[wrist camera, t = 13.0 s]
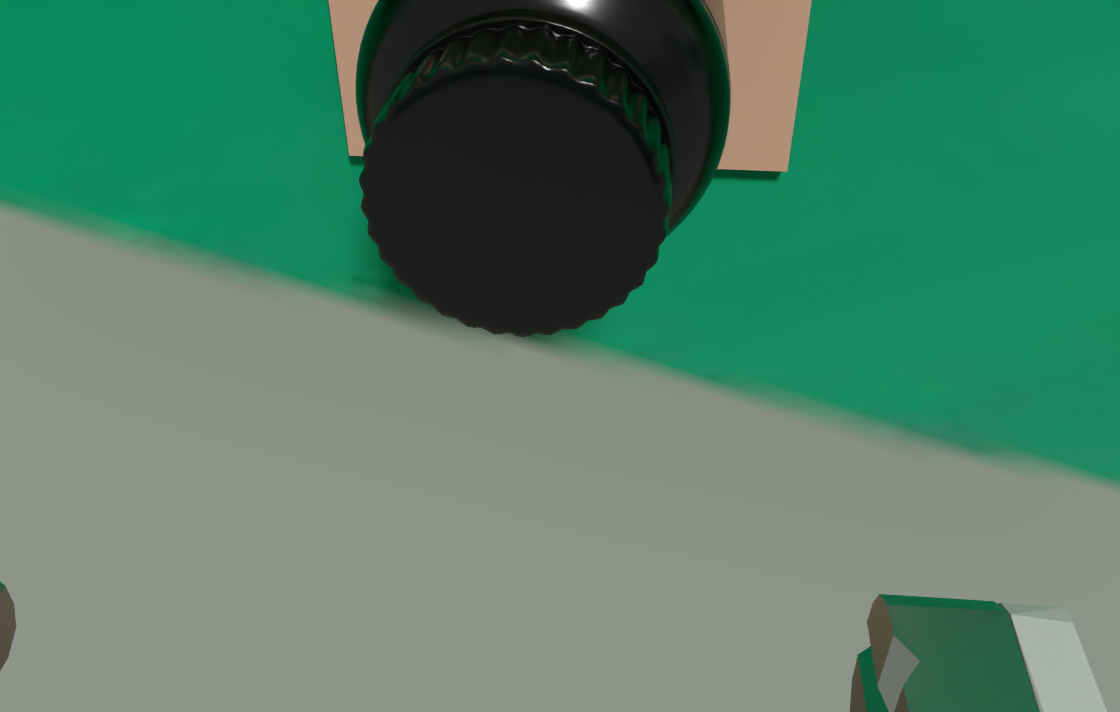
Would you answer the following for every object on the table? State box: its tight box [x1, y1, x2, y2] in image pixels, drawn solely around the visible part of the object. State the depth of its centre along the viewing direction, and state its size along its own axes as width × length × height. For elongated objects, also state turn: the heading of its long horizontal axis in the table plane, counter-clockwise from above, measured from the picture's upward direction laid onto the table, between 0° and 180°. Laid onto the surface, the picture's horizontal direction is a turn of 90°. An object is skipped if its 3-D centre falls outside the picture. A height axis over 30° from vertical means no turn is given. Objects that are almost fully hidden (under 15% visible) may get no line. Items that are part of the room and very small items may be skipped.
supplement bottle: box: [356, 0, 731, 337], centre depth 20 cm, size 7×7×12 cm
